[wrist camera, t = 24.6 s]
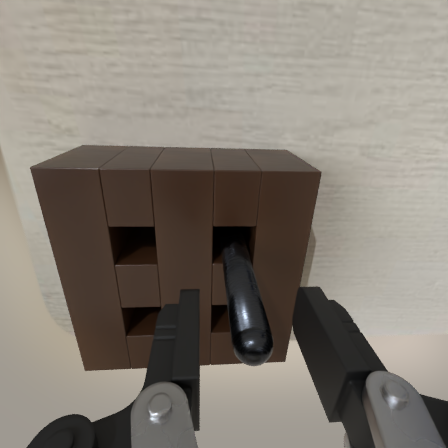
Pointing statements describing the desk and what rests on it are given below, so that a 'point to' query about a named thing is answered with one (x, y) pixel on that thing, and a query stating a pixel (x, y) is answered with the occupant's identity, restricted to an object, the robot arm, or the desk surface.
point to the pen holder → (172, 240)
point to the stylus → (244, 300)
